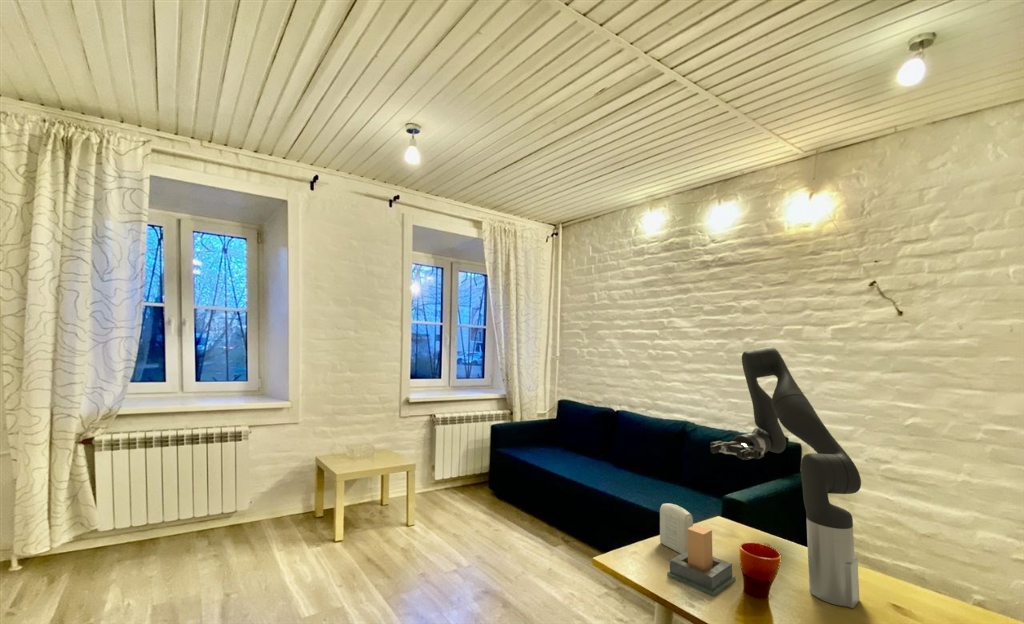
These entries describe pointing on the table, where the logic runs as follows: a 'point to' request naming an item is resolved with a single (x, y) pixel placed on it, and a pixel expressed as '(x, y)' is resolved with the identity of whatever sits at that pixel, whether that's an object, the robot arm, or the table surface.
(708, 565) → the tall orange pillar
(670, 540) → the photo printer
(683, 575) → the square frame holder
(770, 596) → the table surface
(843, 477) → the robot arm
